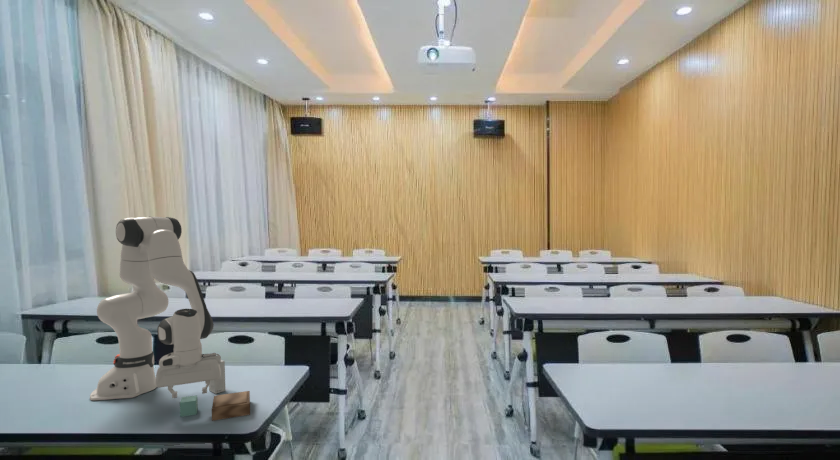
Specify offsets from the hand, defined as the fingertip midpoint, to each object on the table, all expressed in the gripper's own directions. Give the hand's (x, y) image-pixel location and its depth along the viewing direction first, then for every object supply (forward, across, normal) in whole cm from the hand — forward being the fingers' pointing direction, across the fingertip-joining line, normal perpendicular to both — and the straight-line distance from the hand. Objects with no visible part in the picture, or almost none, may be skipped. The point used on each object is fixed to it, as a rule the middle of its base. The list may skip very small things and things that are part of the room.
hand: (190, 395), depth 159 cm
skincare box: (+6, -8, -18) cm, 21 cm away
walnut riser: (+6, -13, +4) cm, 15 cm away
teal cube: (+6, +1, -1) cm, 6 cm away
